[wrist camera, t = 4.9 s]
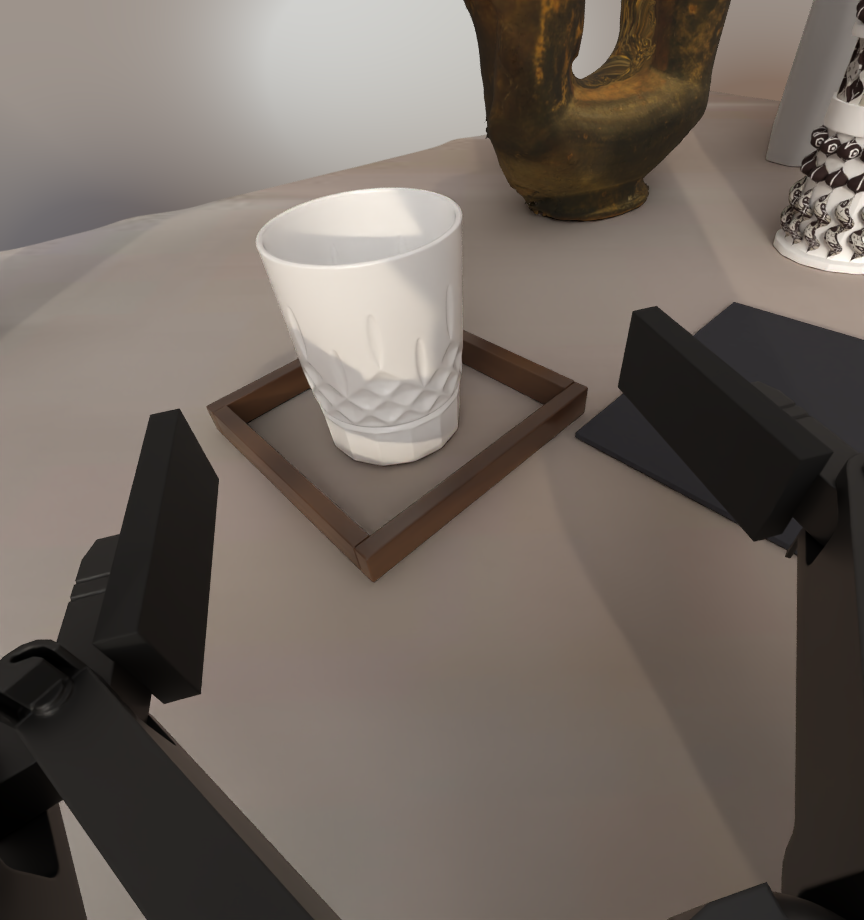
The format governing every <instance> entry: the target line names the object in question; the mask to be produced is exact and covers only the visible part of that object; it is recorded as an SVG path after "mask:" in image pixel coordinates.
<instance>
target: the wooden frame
mask: <svg viewBox="0 0 864 920" xmlns="http://www.w3.org/2000/svg"><path fill="white" fill-rule="evenodd" d="M462 363H464V364H466V365H468V366H470V367H472V368H474V369H476V370H478V371H480V372H482V373H484V374H486V375H488V376H490V377H492V378H494V379H495V380H497V381H499V382H501V383H503V384H505V385H507V386H509V387H511V388H513V389H515V390H517V391H519V392H521V393H523V394H525V395H527V396H529V397H531V398H533V399H535V400H537V401H539V402H541V403H543V404H545V405H543V406H542V407H541V408H539V409H538V410H537V411H535V412H534V413H533V414H531V415H530V416H529V417H527V418H526V419H525V420H523V421H522V422H521V423H519V424H518V425H517V426H516V427H514V428H513V429H512V430H510V431H509V432H508V433H506V434H505V435H504V436H502V437H501V438H500V439H498V440H497V441H496V442H494V443H493V444H492V445H490V446H489V447H488V448H486V449H485V450H484V451H482V452H481V453H480V454H478V455H477V456H476V457H474V458H473V459H472V460H470V461H469V462H468V463H466V464H465V465H464V466H462V467H461V468H460V469H458V470H457V471H456V472H454V473H453V474H452V475H450V476H449V477H448V478H446V479H445V480H444V481H442V482H441V483H440V484H438V485H437V486H436V487H435V488H433V489H432V490H431V491H429V492H428V493H427V494H425V495H424V496H423V497H421V498H420V499H419V500H417V501H416V502H415V503H413V504H412V505H411V506H409V507H408V508H407V509H405V510H404V511H403V512H401V513H400V514H399V515H397V516H396V517H395V518H393V519H392V520H391V521H389V522H388V523H387V524H385V525H384V526H383V527H381V528H380V529H379V530H377V531H376V532H375V533H373V534H372V535H371V536H369V534H367V533H366V532H365V531H364V530H363V529H362V528H361V527H360V526H359V525H358V524H356V523H355V522H354V521H353V520H352V519H351V518H350V517H349V516H348V515H347V514H345V513H344V512H343V511H342V510H341V509H340V508H339V507H338V506H337V505H335V504H334V503H333V502H332V501H331V500H330V499H329V498H328V497H327V496H326V495H324V494H323V493H322V492H321V491H320V490H319V489H318V488H317V487H316V486H315V485H313V484H312V483H311V482H310V481H309V480H308V479H307V478H306V477H305V476H304V475H302V474H301V473H300V472H299V471H298V470H297V469H296V468H295V467H294V466H293V465H291V464H290V463H289V462H288V461H287V460H286V459H285V458H284V457H283V456H282V455H280V454H279V453H278V452H277V451H276V450H275V449H274V448H273V447H272V446H271V445H269V444H268V443H267V442H266V441H265V440H264V439H263V438H262V437H261V436H259V435H258V434H257V433H256V432H255V431H254V430H253V429H252V428H251V427H250V426H248V425H247V424H246V423H247V422H249V421H251V420H253V419H255V418H256V417H258V416H260V415H262V414H264V413H266V412H267V411H269V410H271V409H273V408H275V407H276V406H278V405H280V404H282V403H284V402H285V401H287V400H289V399H291V398H293V397H294V396H296V395H298V394H300V393H302V392H303V391H305V390H307V389H309V388H311V387H310V385H309V383H308V380H307V378H306V376H305V374H304V371H303V369H302V366H301V364H300V361H299V358H298V359H297V360H295V361H293V362H291V363H289V364H287V365H285V366H283V367H281V368H279V369H277V370H275V371H273V372H271V373H269V374H268V375H266V376H264V377H262V378H260V379H258V380H256V381H254V382H252V383H250V384H248V385H246V386H244V387H242V388H240V389H239V390H237V391H235V392H233V393H231V394H229V395H227V396H225V397H223V398H221V399H219V400H217V401H215V402H213V403H211V404H210V405H208V406H206V407H207V410H208V412H209V413H210V415H211V417H212V419H213V421H214V423H215V425H216V427H217V429H218V430H219V431H220V432H221V433H222V434H223V435H224V436H225V437H226V438H227V439H228V440H229V441H230V442H231V443H232V444H233V445H234V446H235V447H236V448H237V449H238V450H239V451H240V452H241V453H242V454H243V455H244V456H245V457H246V458H247V459H248V460H249V461H250V462H251V463H252V464H253V465H254V466H255V467H256V468H257V469H258V470H259V471H260V472H261V473H262V474H263V475H264V476H266V477H267V478H268V479H269V480H270V481H271V482H272V483H273V484H274V485H275V486H276V487H277V488H278V489H279V490H280V491H281V492H282V493H283V494H284V495H285V496H286V497H287V498H288V499H289V500H290V501H291V502H292V503H293V504H294V505H295V506H296V507H297V508H298V509H299V510H300V511H301V512H302V513H303V514H304V515H305V516H306V517H307V518H308V519H309V520H310V521H311V522H312V523H313V524H314V525H315V526H316V527H317V528H318V529H319V530H320V531H321V532H322V533H323V534H324V535H325V536H326V537H327V538H328V539H329V540H330V541H331V542H332V543H333V544H334V545H335V546H336V547H337V548H338V549H339V550H340V551H341V552H342V553H344V554H345V555H346V556H347V557H348V558H349V559H350V560H351V561H352V562H353V563H354V564H355V565H356V566H357V567H358V568H359V569H360V570H362V572H363V573H364V574H365V575H366V576H367V577H368V578H369V579H370V580H371V581H372V582H375V581H376V580H377V579H379V578H380V577H381V576H382V575H384V574H385V573H386V572H387V571H389V570H390V569H391V568H392V567H393V566H395V565H396V564H397V563H398V562H400V561H401V560H402V559H403V558H405V557H406V556H407V555H408V554H410V553H411V552H412V551H413V550H415V549H416V548H417V547H418V546H419V545H421V544H422V543H423V542H424V541H426V540H427V539H428V538H429V537H431V536H432V535H433V534H434V533H436V532H437V531H438V530H439V529H441V528H442V527H443V526H444V525H445V524H447V523H448V522H449V521H450V520H452V519H453V518H454V517H455V516H457V515H458V514H459V513H460V512H462V511H463V510H464V509H465V508H467V507H468V506H469V505H470V504H471V503H473V502H474V501H475V500H476V499H478V498H479V497H480V496H481V495H483V494H484V493H485V492H486V491H488V490H489V489H490V488H491V487H493V486H494V485H495V484H496V483H498V482H499V481H500V480H501V479H502V478H504V477H505V476H506V475H507V474H509V473H510V472H511V471H512V470H514V469H515V468H516V467H517V466H519V465H520V464H521V463H522V462H524V461H525V460H526V459H527V458H528V457H530V456H531V455H532V454H533V453H535V452H536V451H537V450H538V449H540V448H541V447H542V446H543V445H545V444H546V443H547V442H548V441H550V440H551V439H552V438H553V437H554V436H556V435H557V434H558V433H559V432H561V431H562V430H563V429H564V428H566V427H567V426H568V425H569V424H571V423H572V422H573V421H574V420H576V419H577V418H578V417H579V416H580V415H582V414H583V413H584V411H585V404H586V398H587V391H588V388H587V387H586V386H584V385H581V384H579V383H577V382H574V381H573V380H571V379H569V378H567V377H565V376H563V375H560V374H558V373H556V372H554V371H552V370H549V369H547V368H545V367H543V366H541V365H539V364H536V363H534V362H532V361H530V360H528V359H525V358H523V357H521V356H519V355H517V354H515V353H512V352H510V351H508V350H506V349H504V348H501V347H499V346H497V345H495V344H493V343H491V342H488V341H486V340H484V339H482V338H480V337H477V336H475V335H473V334H471V333H469V332H467V331H464V330H463V349H462Z"/></svg>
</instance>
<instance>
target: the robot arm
mask: <svg viewBox="0 0 864 920" xmlns="http://www.w3.org/2000/svg"><path fill="white" fill-rule="evenodd" d="M618 388H619V389H620V390H621V391H622V392H623V393H624V395H625V396H626V397H627V398H628V399H629V400H630V401H631V403H632V404H633V405H634V406H635V407H636V408H637V409H638V410H639V412H640V413H641V414H642V415H643V416H644V417H645V418H646V420H647V421H648V422H649V423H650V424H651V425H652V426H653V427H654V429H655V430H656V431H657V432H658V433H659V434H660V435H661V437H662V438H663V439H664V440H665V441H666V442H667V443H668V445H669V446H670V447H671V448H672V449H673V450H674V451H675V452H676V454H677V455H678V456H679V457H680V458H681V459H682V460H683V462H684V463H685V464H686V465H687V466H688V467H689V468H690V470H691V471H692V472H693V473H694V474H695V475H696V476H697V477H698V479H699V480H700V481H701V482H702V483H703V484H704V485H705V487H706V488H707V489H708V490H709V491H710V492H711V493H712V495H713V496H714V497H715V498H716V499H717V500H718V501H719V502H720V504H721V505H722V506H723V507H724V508H725V509H726V510H727V512H728V513H729V514H730V515H731V516H732V517H733V518H734V520H735V521H736V522H737V523H738V524H739V525H740V526H741V527H742V529H743V530H744V531H745V532H746V533H747V534H748V535H749V537H750V538H751V539H752V540H753V541H758V540H762V539H765V538H769V537H773V536H776V535H780V534H783V532H784V530H785V529H786V527H787V526H788V524H789V522H790V521H791V519H792V518H794V519H795V520H796V521H797V522H798V523H799V524H800V525H801V526H802V527H803V528H802V529H801V531H800V532H799V534H798V535H797V537H796V538H795V540H794V541H793V543H792V544H791V546H790V547H789V549H788V550H787V553H786V556H785V557H787V558H791V557H792V555H793V554H794V552H795V551H796V550H798V555H797V661H796V767H795V824H794V830H793V834H792V836H791V839H790V841H789V843H788V846H787V848H786V851H785V855H784V860H783V868H782V889H781V893H777V892H772V891H771V889H770V887H769V885H768V883H767V882H766V883H763V884H760V885H757V886H754V887H752V888H749V889H746V890H743V891H740V892H738V893H735V894H732V895H729V896H726V897H724V898H721V899H718V900H715V901H712V902H710V903H707V904H704V905H702V906H699V907H696V908H694V909H691V910H689V911H686V912H683V913H681V914H678V915H675V916H673V917H670V918H668V919H667V920H864V452H863V453H859V452H857V451H856V450H855V449H853V448H852V447H851V446H849V445H848V444H847V443H846V442H844V441H843V440H842V439H841V438H839V437H838V436H837V435H835V434H834V433H833V432H832V431H830V430H829V429H828V428H827V427H825V426H824V425H823V424H822V423H820V422H819V421H818V420H816V419H815V418H814V417H813V416H809V415H808V412H806V411H805V410H804V409H803V408H801V407H800V406H799V405H798V406H796V405H795V402H794V401H792V400H791V399H790V398H789V397H787V396H786V395H785V394H783V393H782V392H781V391H780V390H778V389H775V388H773V387H771V386H769V385H766V384H764V383H762V382H760V381H756V382H752V383H750V382H749V381H747V380H746V379H745V378H744V377H742V376H741V375H740V374H739V373H738V372H736V371H735V370H734V369H733V368H732V367H730V366H729V365H728V364H727V363H725V362H724V361H723V360H722V359H721V358H719V357H718V356H717V355H716V354H714V353H713V352H712V351H711V350H710V349H708V348H707V347H706V346H705V345H703V344H702V343H701V342H700V341H699V340H697V339H696V338H695V337H694V336H692V335H691V334H690V333H689V332H688V331H686V330H685V329H684V328H683V327H682V326H680V325H679V324H678V323H677V322H675V321H674V320H673V319H672V318H671V317H669V316H668V315H667V314H666V313H664V312H663V311H662V310H661V309H660V308H658V307H657V306H655V307H650V308H645V309H641V310H636V311H633V313H632V318H631V323H630V328H629V333H628V338H627V343H626V348H625V353H624V358H623V363H622V368H621V373H620V378H619V383H618ZM218 484H219V478H218V477H217V475H216V473H215V471H214V469H213V468H212V466H211V464H210V462H209V460H208V459H207V457H206V455H205V453H204V451H203V450H202V448H201V446H200V444H199V442H198V441H197V439H196V437H195V435H194V433H193V432H192V430H191V428H190V426H189V424H188V423H187V421H186V419H185V417H184V415H183V414H182V412H181V410H180V409H175V410H171V411H166V412H161V413H157V414H152V415H150V418H149V422H148V426H147V430H146V434H145V438H144V441H143V445H142V449H141V453H140V457H139V461H138V465H137V469H136V473H135V477H134V481H133V485H132V489H131V492H130V496H129V500H128V504H127V508H126V512H125V516H124V520H123V524H122V528H121V532H120V534H118V535H114V536H110V537H106V538H102V539H97V540H96V541H95V543H94V544H93V546H92V547H91V548H90V550H89V551H88V552H87V554H86V555H85V556H84V558H83V559H82V561H81V564H80V567H79V571H78V574H77V577H76V580H75V581H76V584H75V585H74V587H73V590H72V593H71V597H70V598H71V601H70V602H69V603H68V606H67V609H66V613H65V616H64V619H63V622H62V626H61V629H60V632H59V635H58V639H57V642H54V641H53V640H35V641H32V642H29V643H26V644H23V645H21V646H19V647H18V648H16V649H15V650H13V651H11V652H10V653H8V654H7V655H5V656H4V657H3V658H2V659H1V660H0V920H87V917H86V913H85V909H84V905H83V901H82V897H81V893H80V888H79V884H78V880H77V876H76V872H75V868H74V864H73V860H72V856H71V852H70V848H69V843H68V839H67V835H66V831H65V827H64V823H63V819H62V815H61V811H60V807H59V802H60V801H62V800H64V802H65V803H66V804H67V806H68V807H69V809H70V810H71V812H72V813H73V814H74V816H75V817H76V819H77V820H78V822H79V823H80V825H81V826H82V827H83V829H84V830H85V832H86V833H87V835H88V836H89V837H90V839H91V840H92V842H93V843H94V845H95V846H96V848H97V849H98V850H99V852H100V853H101V855H102V856H103V858H104V859H105V860H106V862H107V863H108V865H109V866H110V868H111V869H112V871H113V872H114V873H115V875H116V876H117V878H118V879H119V881H120V882H121V883H122V885H123V886H124V888H125V889H126V891H127V892H128V893H129V895H130V896H131V898H132V899H133V901H134V902H135V904H136V905H137V906H138V908H139V909H140V911H141V912H142V914H143V915H144V916H145V918H146V919H147V920H341V919H340V917H339V916H338V915H337V914H336V913H335V912H334V911H333V910H332V909H331V908H330V907H329V906H328V904H327V903H326V902H325V901H324V900H323V899H322V898H321V897H320V896H319V895H318V894H317V893H316V892H315V890H314V889H313V888H312V887H311V886H310V885H309V884H308V883H307V882H306V881H305V880H304V879H303V877H302V876H301V875H300V874H299V873H298V872H297V871H296V870H295V869H294V868H293V867H292V866H291V865H290V863H289V862H288V861H287V860H286V859H285V858H284V857H283V856H282V855H281V854H280V853H279V852H278V850H277V849H276V848H275V847H274V846H273V845H272V844H271V843H270V842H269V841H268V840H267V839H266V838H265V836H264V835H263V834H262V833H261V832H260V831H259V830H258V829H257V828H256V827H255V826H254V825H253V823H252V822H251V821H250V820H249V819H248V818H247V817H246V816H245V815H244V814H243V813H242V812H241V811H240V809H239V808H238V807H237V806H236V805H235V804H234V803H233V802H232V801H231V800H230V799H229V798H228V796H227V795H226V794H225V793H224V792H223V791H222V790H221V789H220V788H219V787H218V786H217V785H216V784H215V782H214V781H213V780H212V779H211V778H210V777H209V776H208V775H207V774H206V773H205V772H204V771H203V769H202V768H201V767H200V766H199V765H198V764H197V763H196V762H195V761H194V760H193V759H192V758H191V757H190V755H189V754H188V753H187V752H186V751H185V750H184V749H183V748H182V747H181V746H180V745H179V744H178V742H177V741H176V740H175V739H174V738H173V737H172V736H171V735H170V734H169V733H168V732H167V731H166V729H165V728H164V727H163V726H162V725H161V724H160V723H159V722H158V721H157V720H156V719H155V718H154V717H153V716H152V715H151V714H149V707H150V700H151V694H153V695H154V696H155V697H156V698H157V699H159V700H160V701H161V702H162V703H163V704H166V703H170V702H173V701H177V700H181V699H184V698H188V697H191V696H195V695H199V694H201V686H202V674H203V662H204V651H205V639H206V627H207V615H208V603H209V591H210V579H211V567H212V555H213V543H214V532H215V520H216V508H217V496H218Z"/></svg>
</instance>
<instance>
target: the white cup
mask: <svg viewBox="0 0 864 920" xmlns="http://www.w3.org/2000/svg"><path fill="white" fill-rule="evenodd" d="M256 247H257V250H258V252H259V255H260V258H261V260H262V263H263V265H264V268H265V271H266V273H267V276H268V279H269V281H270V284H271V286H272V289H273V292H274V294H275V297H276V300H277V302H278V305H279V308H280V310H281V313H282V316H283V319H284V321H285V324H286V327H287V329H288V332H289V334H290V337H291V340H292V342H293V345H294V348H295V350H296V353H297V356H298V358H299V361H300V364H301V366H302V369H303V371H304V374H305V376H306V378H307V380H308V383H309V385H310V387H311V389H312V392H313V396H314V397H315V398H316V400H317V401H318V403H319V404H320V407H321V410H322V412H323V414H324V416H325V419H326V422H327V425H328V427H329V430H330V433H331V436H332V439H333V441H334V444H335V446H336V447H337V448H339V449H340V450H341V451H343V452H344V453H346V454H347V455H348V456H350V457H351V458H352V459H354V460H356V461H361V462H366V463H371V464H376V465H381V466H386V465H393V464H400V463H407V462H414V461H417V460H419V459H421V458H423V457H425V456H427V455H429V454H431V453H433V452H435V451H437V450H439V449H441V448H442V447H443V446H444V445H445V443H446V442H447V441H448V440H449V439H450V437H451V436H452V435H453V434H454V433H455V432H456V430H457V429H458V421H459V412H460V379H461V376H462V349H463V271H462V210H461V208H460V207H459V205H458V204H457V203H456V202H455V201H453V200H452V199H450V198H448V197H446V196H444V195H442V194H439V193H436V192H432V191H427V190H422V189H414V188H396V187H389V188H370V189H361V190H353V191H347V192H342V193H337V194H332V195H328V196H324V197H320V198H317V199H314V200H310V201H307V202H305V203H302V204H299V205H297V206H294V207H292V208H290V209H288V210H286V211H284V212H282V213H280V214H278V215H277V216H275V217H274V218H272V219H271V220H270V221H268V222H267V223H266V224H265V225H264V226H263V227H262V228H261V229H260V231H259V232H258V234H257V237H256Z"/></svg>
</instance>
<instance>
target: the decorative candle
mask: <svg viewBox="0 0 864 920" xmlns="http://www.w3.org/2000/svg"><path fill="white" fill-rule="evenodd" d="M856 10H857V13H856V17H857V18H858V19H859V20H858V21H856V22H855V24H854V26H853V29H852V35H853V36H856V37H859V38H858V40H857V43H856V46H855V49H854V51H853V53H852V56H851V58H850V61H849V64H848V66H847V69H846V71H845V74H844V77H843V80H842V82H841V85H840V87H839V90H838V91H837V92H834V94H833V96H832V99H831V102H830V104H829V107H828V110H827V112H826V115H825V117H824V124H823V125H822V126H820V127H818V128H816V129H815V130H813V132H812V134H811V141H810V143H811V145H812V146H813V147H814V148H816V149H817V150H815V151H814V152H812V153H811V154H809V155H807V156H805V157H804V158H803V159H802V161H801V165H802V166H801V168H800V170H801V172H802V173H804V174H805V175H807V176H805V177H804V178H803V179H801V180H799V181H798V182H796V183H795V184H794V185H793V186H792V187H791V189H790V192H789V203H790V205H789V206H788V207H786V208H785V209H784V210H783V212H782V214H781V220H780V225H781V227H782V228H781V229H780V230H778V231H777V233H776V235H775V239H774V244H773V245H774V247H775V248H776V249H777V250H778V251H779V252H780V253H781V255H783V256H785V257H787V258H789V259H791V260H793V261H795V262H797V263H799V264H803V265H806V266H810V267H814V268H818V269H822V270H825V271H832V272H841V273H850V274H864V0H860V1H859V2H858V4H857V6H856Z"/></svg>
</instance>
